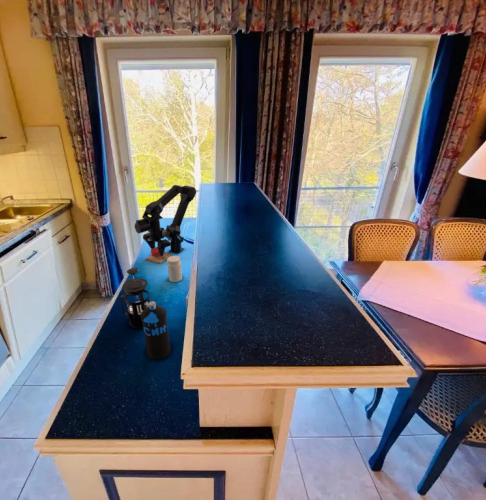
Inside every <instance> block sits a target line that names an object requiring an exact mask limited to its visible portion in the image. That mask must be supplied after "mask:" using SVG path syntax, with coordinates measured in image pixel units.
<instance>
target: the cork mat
mask: <svg viewBox="0 0 486 500" xmlns="http://www.w3.org/2000/svg"><path fill="white" fill-rule="evenodd" d="M170 256H172V254H170V253H166V252H165V254H164V255H163V256H159V257H154V256H152V255H151V254H150V255H149V256H147V257H146V258H145V260H146V261H149V262H153V263H156V264H162V263H163V262H165V261H167V259H168V257H170Z"/></svg>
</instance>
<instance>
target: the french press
mask: <svg viewBox="0 0 486 500" xmlns="http://www.w3.org/2000/svg"><path fill="white" fill-rule="evenodd" d="M139 271H140V269H139V268H137V267H131V268H128V269H127V270H126V274H128V275H131V276H132V278H131V279H128V280H127V281H125V282H124V283H123V285H122V289H123V291H124V294H121V295H120V296H119V301H120V306H121V311H122V315H123V317H127V318H128V324H129V326H130V327H131V328H132V329H135V330H142V329H143V324H142V320H140V316H141V313H142V311H143V310H144V309H146V308H147V307H149V302H151V297H150V296H151V295H150V292H149V291H148V290H147V289H146V288H147V287H148V284H149V283H148V281H147V279H145V278H141V277H136V278H135V274H137V273H139ZM144 293H145V294H147V295H148V296H147V297H146V298H145V297H144ZM129 296H130V297H135V296H136V301H135V302H132V301H129V300H128V297H129ZM124 302H125V303H124ZM125 304H126V309H125ZM126 310H127V312H126ZM143 330H144V329H143Z"/></svg>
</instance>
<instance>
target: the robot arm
mask: <svg viewBox="0 0 486 500" xmlns="http://www.w3.org/2000/svg"><path fill="white" fill-rule="evenodd" d="M178 195H179V196H180V200H179V203H178V206H177V209H176V212H175V214H174V217H173V219H172V222H171V223H170V225H169V224H167V225H166V228H164V227H161V221H160V220H161V219H164V217H163V216H161V214H162V212H163V211H164V208H165V207H166V206H167V205H168V204H170V202H172V201H173V200H174V199H175V198H176V197H177V196H178ZM196 196H197V189H196V188H195V186H191V185H183V186H181V185H178V184H174V185H172V186H171V188H170V189H168V190H167V191H166V192H165V193H163V195H161V197H159V198H158V199H157V200H155V201H151V202H149V203H148V204H147V205H146V206H145V210H144V211H143V214H142V216H141V219H136V220H135V223H134V230H135V232H136V233H137V234H142V233H144V234H143V235H142V239H143V241H145V242H146V244H147V245H148V247H149V248H150V250H151V249H153V248H155V247H157V249H158V251H159V253H160V255H161V256H163V254H164V251H166V248H168V247H170V249H169V250H168V253H169V252H170V253H174V254H180V253H181V252H183V250H185V249H184V248H183V247H182V243H184V239H185V238H184V237H183V236H181V233H182V232H181V231H182V230H181V226H182V223H183V221H184V218H185V215H186V212H187V209H188V207H189V204H190V203H191V202H192V201H193V200H194V199H195V197H196ZM146 232H147V233H146Z"/></svg>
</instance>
